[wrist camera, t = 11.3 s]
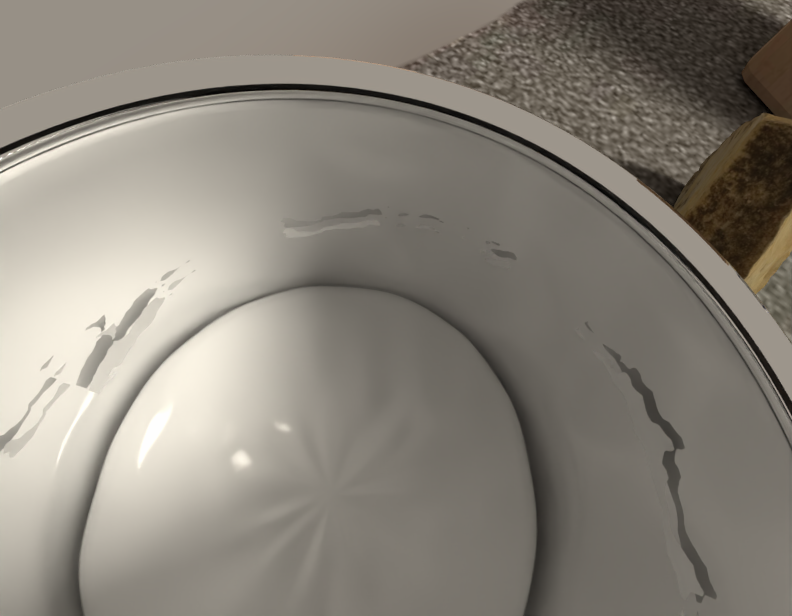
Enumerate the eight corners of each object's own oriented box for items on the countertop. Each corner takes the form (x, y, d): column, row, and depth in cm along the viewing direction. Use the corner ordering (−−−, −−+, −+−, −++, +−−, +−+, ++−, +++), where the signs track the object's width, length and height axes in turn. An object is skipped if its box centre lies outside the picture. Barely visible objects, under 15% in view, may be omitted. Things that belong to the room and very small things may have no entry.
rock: (701, 111, 22) (574, 143, 18) (961, 65, 15) (840, 103, 11) (691, 295, 26) (584, 355, 22) (895, 332, 19) (788, 430, 15)
